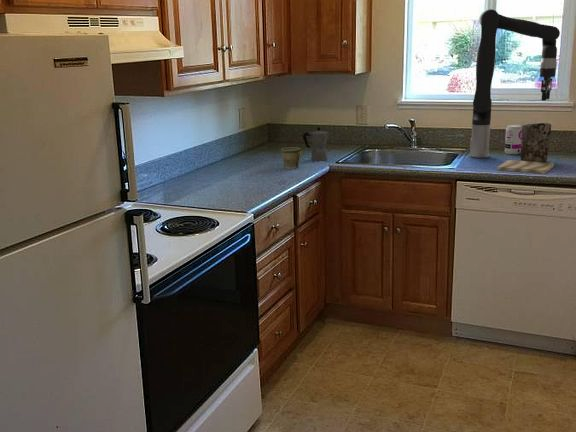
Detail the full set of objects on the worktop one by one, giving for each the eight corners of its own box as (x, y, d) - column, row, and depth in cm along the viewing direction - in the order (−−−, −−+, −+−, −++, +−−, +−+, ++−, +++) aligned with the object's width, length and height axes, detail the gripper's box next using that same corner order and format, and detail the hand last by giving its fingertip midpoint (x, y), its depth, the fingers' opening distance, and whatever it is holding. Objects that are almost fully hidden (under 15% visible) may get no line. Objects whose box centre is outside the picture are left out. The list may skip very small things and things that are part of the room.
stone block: (539, 159, 324) (542, 121, 319) (549, 162, 318) (552, 122, 312) (518, 162, 320) (520, 122, 315) (527, 164, 314) (530, 124, 309)
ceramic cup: (277, 168, 322) (277, 149, 320) (288, 165, 330) (288, 146, 328) (299, 171, 315) (298, 151, 313) (309, 167, 323) (309, 148, 320)
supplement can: (521, 152, 346) (523, 125, 342) (518, 155, 339) (520, 127, 335) (506, 151, 350) (508, 124, 346) (503, 154, 343) (504, 126, 339)
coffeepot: (329, 158, 348) (328, 125, 343) (333, 161, 339) (332, 127, 334) (301, 159, 345) (301, 126, 341) (305, 162, 336) (304, 129, 332)
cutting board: (497, 169, 303) (497, 166, 303) (507, 162, 319) (508, 159, 319) (545, 173, 292) (545, 170, 291) (553, 166, 308) (554, 163, 307)
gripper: (543, 66, 328) (540, 98, 332) (537, 67, 316) (534, 100, 321) (558, 66, 324) (556, 98, 328) (553, 68, 312) (550, 101, 317)
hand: (545, 99), depth 325 cm, fingers open, 7 cm apart
